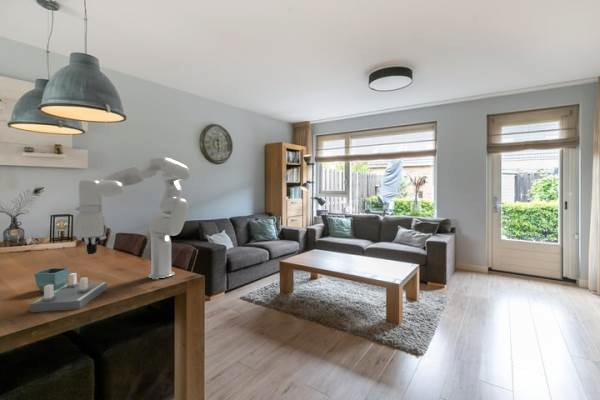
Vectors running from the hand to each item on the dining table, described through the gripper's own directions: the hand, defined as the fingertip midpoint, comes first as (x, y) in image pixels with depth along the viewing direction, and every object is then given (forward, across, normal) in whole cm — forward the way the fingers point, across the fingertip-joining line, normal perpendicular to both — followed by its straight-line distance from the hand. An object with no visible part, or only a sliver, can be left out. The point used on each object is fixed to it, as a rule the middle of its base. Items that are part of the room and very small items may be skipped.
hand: (91, 253), depth 119 cm
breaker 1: (+15, -11, -9) cm, 21 cm away
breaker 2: (+15, -11, +7) cm, 21 cm away
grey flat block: (+19, -7, 0) cm, 20 cm away
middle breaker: (+15, -3, 0) cm, 16 cm away
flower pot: (+19, -22, +13) cm, 32 cm away
